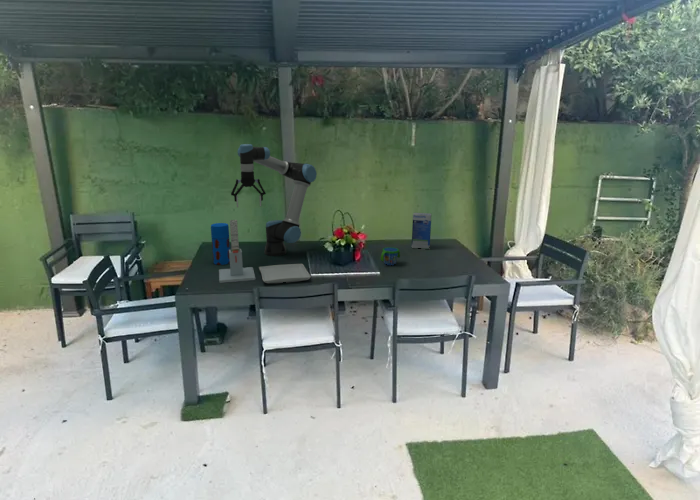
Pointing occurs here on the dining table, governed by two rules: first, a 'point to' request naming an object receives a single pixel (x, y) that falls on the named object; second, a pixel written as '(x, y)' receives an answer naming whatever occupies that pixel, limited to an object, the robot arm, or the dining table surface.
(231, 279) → the stand
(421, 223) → the string lights box
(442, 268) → the dining table surface
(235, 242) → the column
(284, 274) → the square plate
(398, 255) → the snack cup
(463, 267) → the dining table surface
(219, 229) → the thermos
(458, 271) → the dining table surface
